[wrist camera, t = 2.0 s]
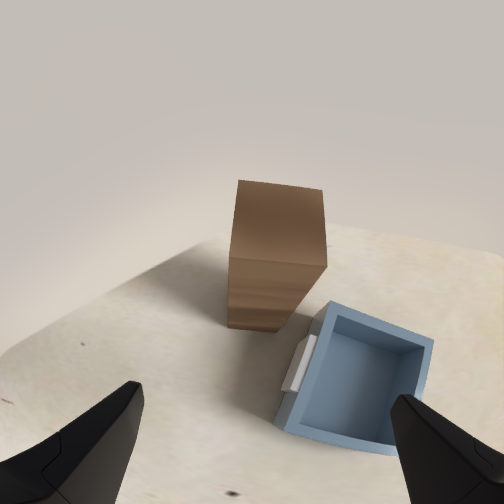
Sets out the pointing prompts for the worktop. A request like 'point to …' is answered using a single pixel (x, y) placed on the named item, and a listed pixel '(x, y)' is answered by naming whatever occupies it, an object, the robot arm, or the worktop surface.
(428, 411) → the robot arm
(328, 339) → the holder
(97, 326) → the worktop surface
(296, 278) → the upright wooden block
